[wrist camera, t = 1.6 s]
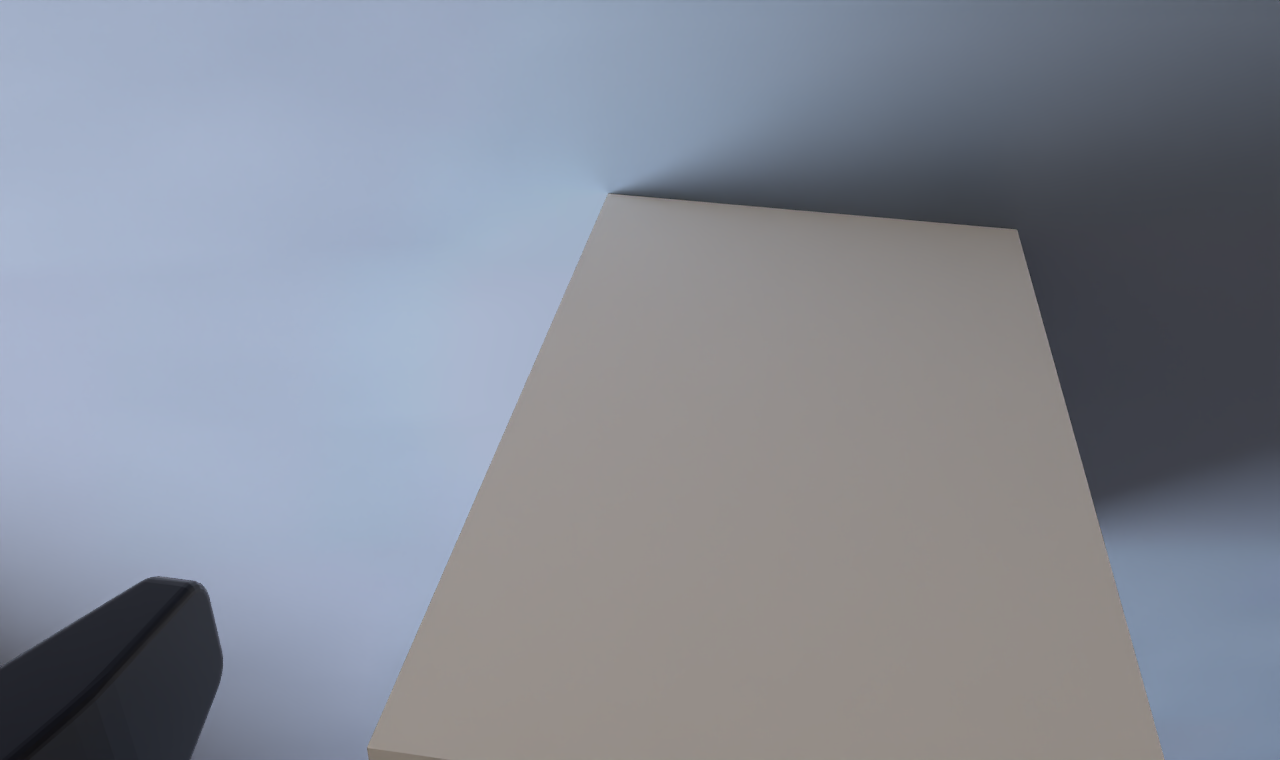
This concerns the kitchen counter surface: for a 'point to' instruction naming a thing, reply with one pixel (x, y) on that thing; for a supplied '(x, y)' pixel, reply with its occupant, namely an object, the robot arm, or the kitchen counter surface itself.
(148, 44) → the kitchen counter surface
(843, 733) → the grey plug
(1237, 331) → the kitchen counter surface
